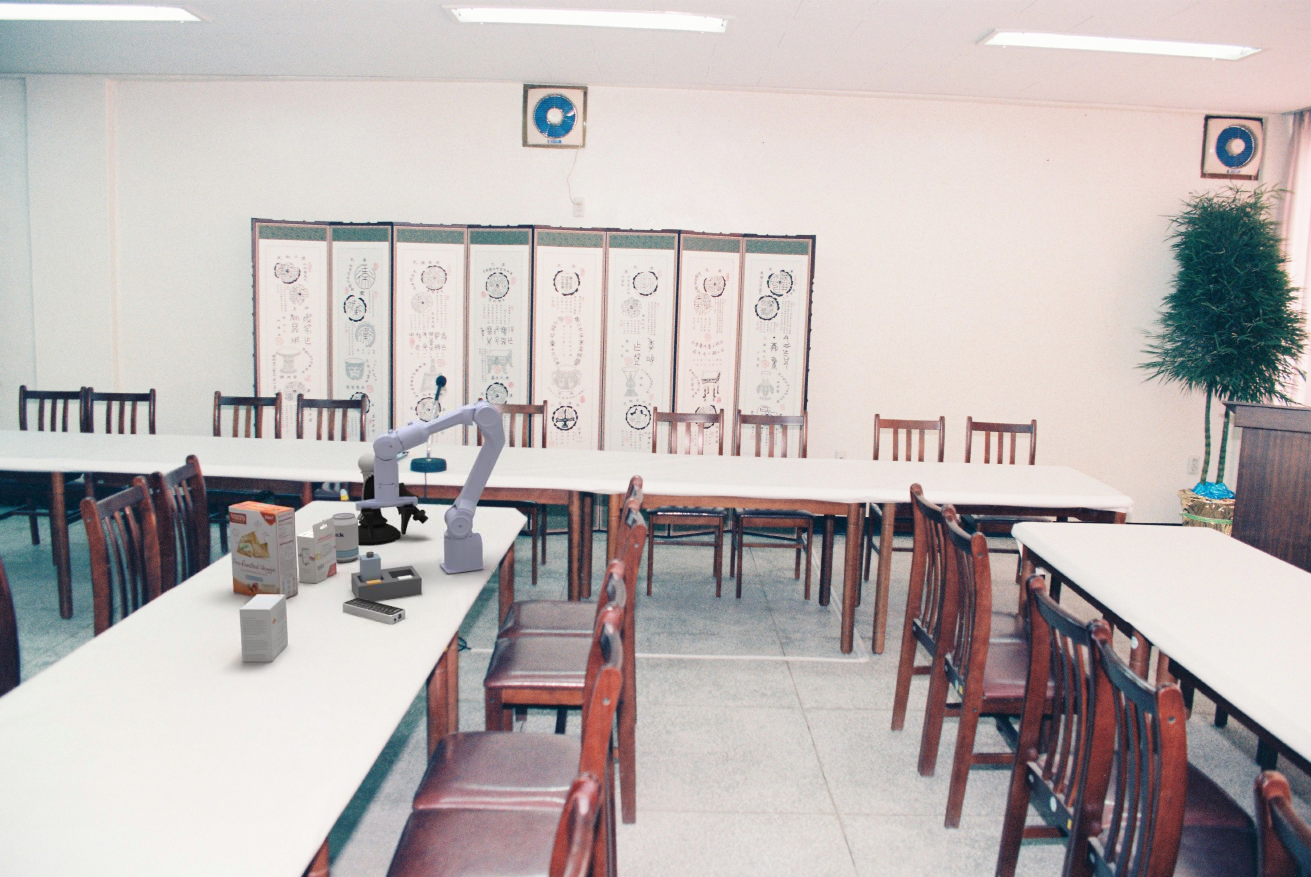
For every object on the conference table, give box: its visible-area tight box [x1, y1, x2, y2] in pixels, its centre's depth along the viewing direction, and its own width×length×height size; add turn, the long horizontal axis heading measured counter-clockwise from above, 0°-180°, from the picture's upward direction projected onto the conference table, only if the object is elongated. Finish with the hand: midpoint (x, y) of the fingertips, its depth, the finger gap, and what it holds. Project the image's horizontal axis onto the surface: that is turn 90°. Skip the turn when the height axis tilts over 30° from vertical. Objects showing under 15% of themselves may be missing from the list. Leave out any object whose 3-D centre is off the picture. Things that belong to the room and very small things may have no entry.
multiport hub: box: [342, 597, 406, 625], centre depth 168 cm, size 4×14×2 cm, turn 64°
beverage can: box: [331, 512, 360, 563], centre depth 203 cm, size 7×7×12 cm
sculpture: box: [356, 452, 429, 547], centre depth 222 cm, size 15×24×25 cm, turn 88°
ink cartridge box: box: [296, 516, 338, 584], centre depth 189 cm, size 9×5×15 cm, turn 168°
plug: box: [359, 551, 382, 583], centre depth 179 cm, size 4×4×9 cm
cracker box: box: [228, 500, 299, 600], centre depth 176 cm, size 14×6×21 cm, turn 70°
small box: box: [239, 594, 289, 663], centre depth 147 cm, size 8×6×10 cm
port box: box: [350, 565, 423, 602], centre depth 181 cm, size 14×10×4 cm
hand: (387, 535), depth 193 cm, fingers open, 7 cm apart
